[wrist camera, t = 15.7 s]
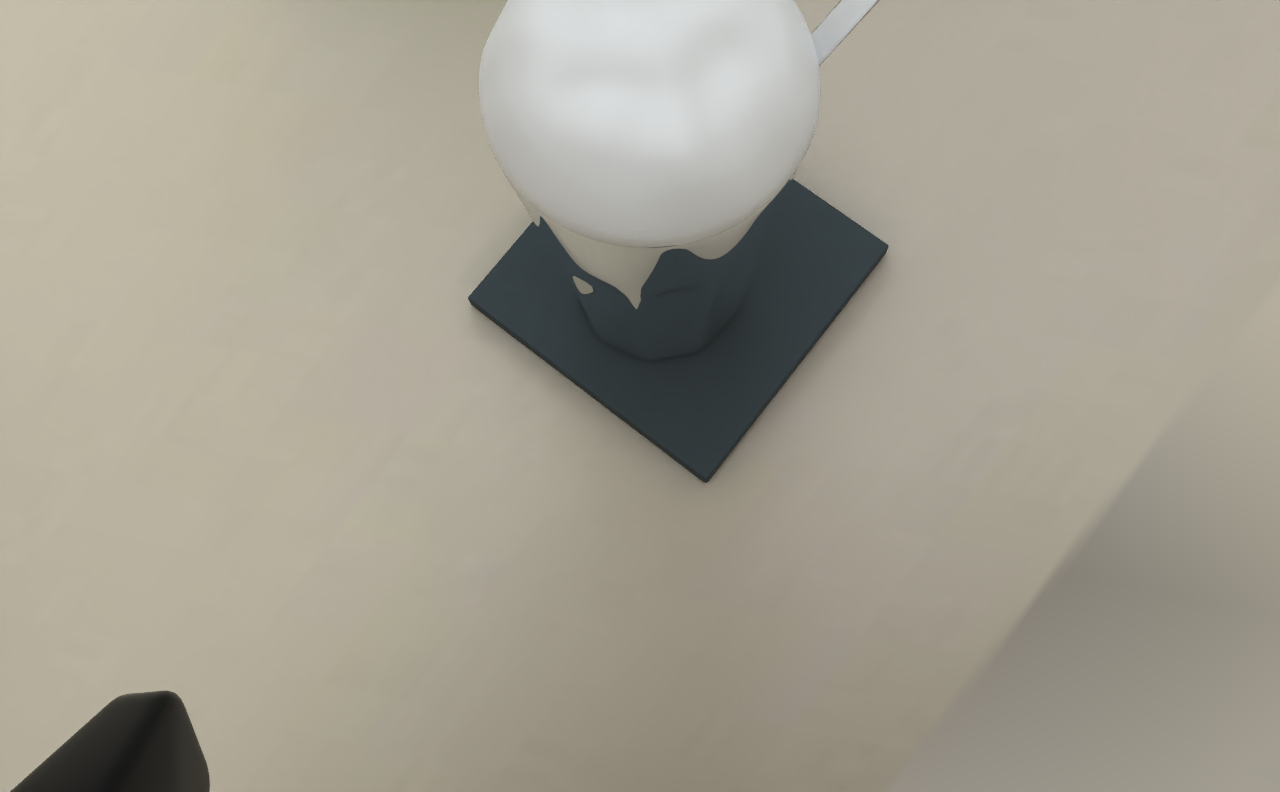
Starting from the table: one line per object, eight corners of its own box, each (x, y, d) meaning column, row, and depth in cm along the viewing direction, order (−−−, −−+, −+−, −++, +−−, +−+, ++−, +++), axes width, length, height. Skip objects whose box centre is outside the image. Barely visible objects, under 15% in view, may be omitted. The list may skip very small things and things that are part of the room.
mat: (886, 252, 24) (889, 245, 24) (706, 483, 23) (706, 480, 23) (652, 89, 25) (652, 80, 25) (470, 304, 24) (466, 298, 24)
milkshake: (835, 365, 23) (950, 128, 13) (564, 414, 23) (481, 212, 13) (787, 153, 24) (861, -207, 15) (528, 199, 24) (427, -132, 14)
